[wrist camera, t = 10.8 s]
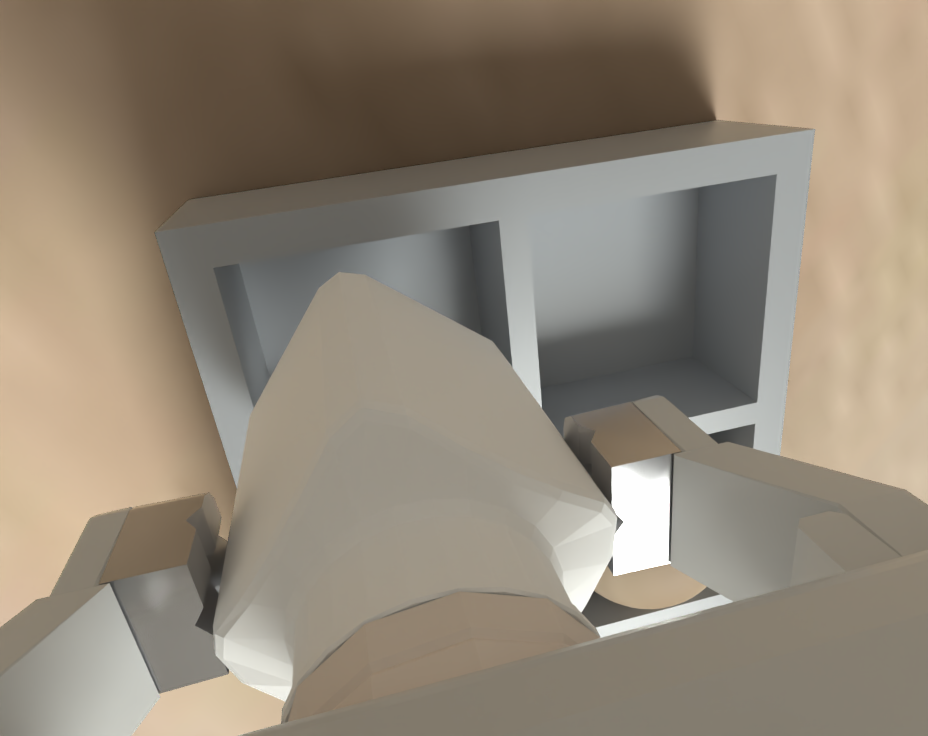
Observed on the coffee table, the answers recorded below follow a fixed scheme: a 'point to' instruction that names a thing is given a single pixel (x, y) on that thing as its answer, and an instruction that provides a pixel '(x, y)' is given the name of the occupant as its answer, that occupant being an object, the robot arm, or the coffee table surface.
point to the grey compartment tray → (533, 276)
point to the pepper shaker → (400, 512)
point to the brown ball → (648, 587)
